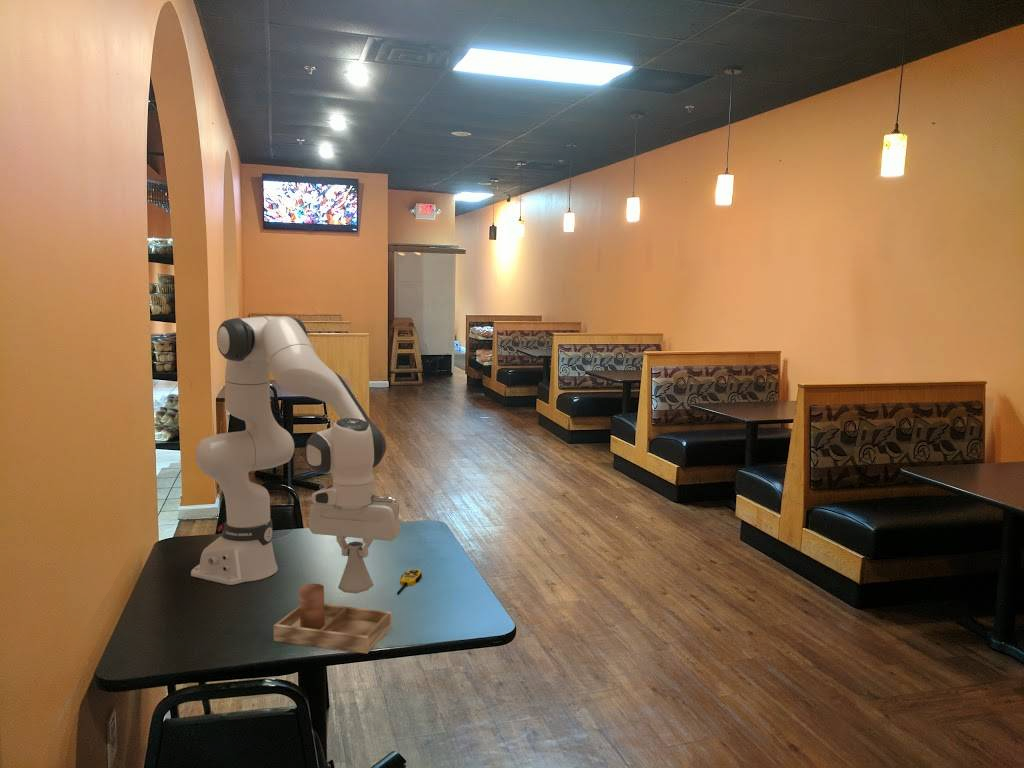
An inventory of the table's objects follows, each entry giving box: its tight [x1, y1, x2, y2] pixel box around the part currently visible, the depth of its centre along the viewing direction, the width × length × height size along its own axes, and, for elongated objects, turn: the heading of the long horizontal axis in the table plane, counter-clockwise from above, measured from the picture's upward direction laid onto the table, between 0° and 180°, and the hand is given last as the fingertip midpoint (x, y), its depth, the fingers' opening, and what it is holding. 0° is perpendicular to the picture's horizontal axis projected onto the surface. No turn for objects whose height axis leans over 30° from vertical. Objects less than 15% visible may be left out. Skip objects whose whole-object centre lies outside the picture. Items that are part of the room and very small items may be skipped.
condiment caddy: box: [272, 583, 393, 655], centre depth 160 cm, size 22×13×10 cm, turn 76°
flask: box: [337, 540, 374, 594], centre depth 157 cm, size 7×7×10 cm
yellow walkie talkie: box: [396, 568, 423, 595], centre depth 189 cm, size 5×2×15 cm
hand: (355, 556), depth 157 cm, fingers closed on flask, 3 cm apart
